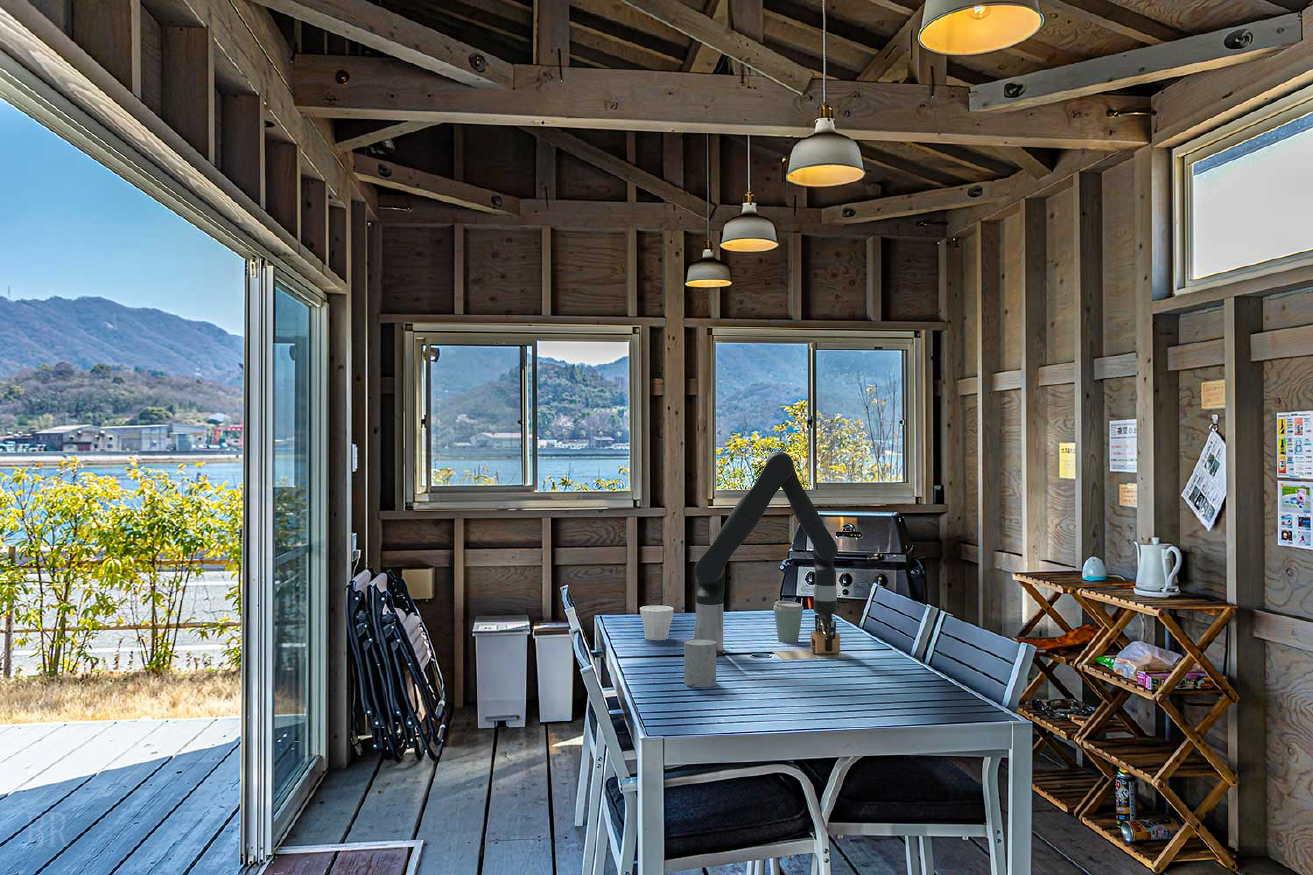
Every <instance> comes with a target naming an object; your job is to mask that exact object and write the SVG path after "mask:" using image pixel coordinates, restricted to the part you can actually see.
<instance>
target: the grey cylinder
mask: <svg viewBox="0 0 1313 875" xmlns="http://www.w3.org/2000/svg"><path fill="white" fill-rule="evenodd" d="M683 642H684V645H683V646H684V658H683V659H684V660H683V662H684V665H683V667H684V668H683V669H684V670H683V673H684V674H683V675H684V677H683V678H684V680H683V681H684V682H683V684H684V683H685V684H686V685H689V686H692V687H691V688H695V687H707V688H712V687H711V686H713V687H715V686H716V685H717V656H716V641H714V640H710V639H694V638H690V639H686V640H684V641H683ZM685 684H684V685H685ZM686 685H685V686H686ZM714 685H715V686H714ZM689 686H688V687H689Z"/></svg>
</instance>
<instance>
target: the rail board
mask: <svg viewBox="0 0 1313 875" xmlns="http://www.w3.org/2000/svg"><path fill="white" fill-rule="evenodd" d="M771 652H772V653H773V654H775V656H778V657H779V658H780V659H782V660H802V659H803V660H806V659H807V660H808V659H809V660H810V659H811V660H812V659H833V658H836V659H837V658H848V656H847V655H846V654H843V653H841V652H840V653H815V646H812V650H811V649H807V650H806V649H802V650H801V649H799V650H778V651H777V650H776V651H775V650H774V651H771Z"/></svg>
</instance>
